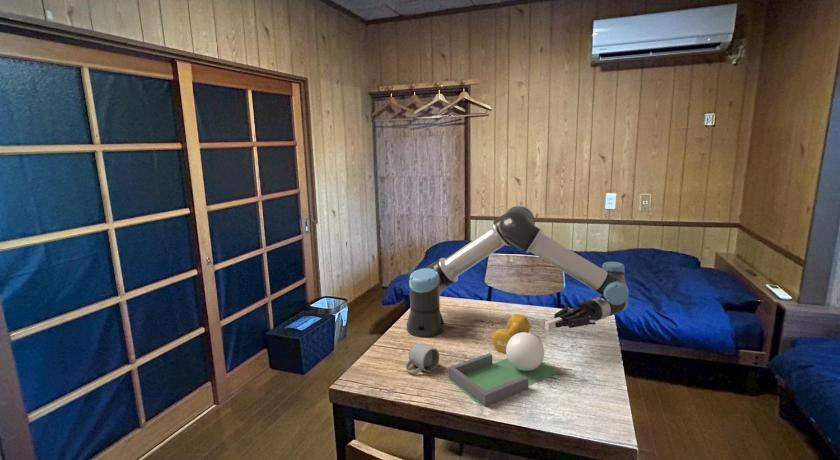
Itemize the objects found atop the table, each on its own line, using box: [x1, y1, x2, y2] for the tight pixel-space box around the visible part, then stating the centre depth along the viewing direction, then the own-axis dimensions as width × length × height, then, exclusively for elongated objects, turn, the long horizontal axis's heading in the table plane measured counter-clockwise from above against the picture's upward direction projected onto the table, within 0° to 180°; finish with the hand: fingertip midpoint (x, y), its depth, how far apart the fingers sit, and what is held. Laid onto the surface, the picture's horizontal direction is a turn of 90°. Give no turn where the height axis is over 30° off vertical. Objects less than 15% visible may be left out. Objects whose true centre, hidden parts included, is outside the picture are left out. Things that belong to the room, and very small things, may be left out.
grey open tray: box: [447, 353, 529, 407], centre depth 131 cm, size 18×16×4 cm
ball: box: [505, 332, 545, 371], centre depth 138 cm, size 12×12×12 cm
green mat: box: [448, 358, 560, 407], centre depth 135 cm, size 16×32×1 cm, turn 121°
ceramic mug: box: [405, 343, 440, 376], centre depth 141 cm, size 11×8×8 cm
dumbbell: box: [491, 314, 532, 354], centre depth 156 cm, size 19×9×8 cm, turn 147°
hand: (546, 326), depth 141 cm, fingers closed
